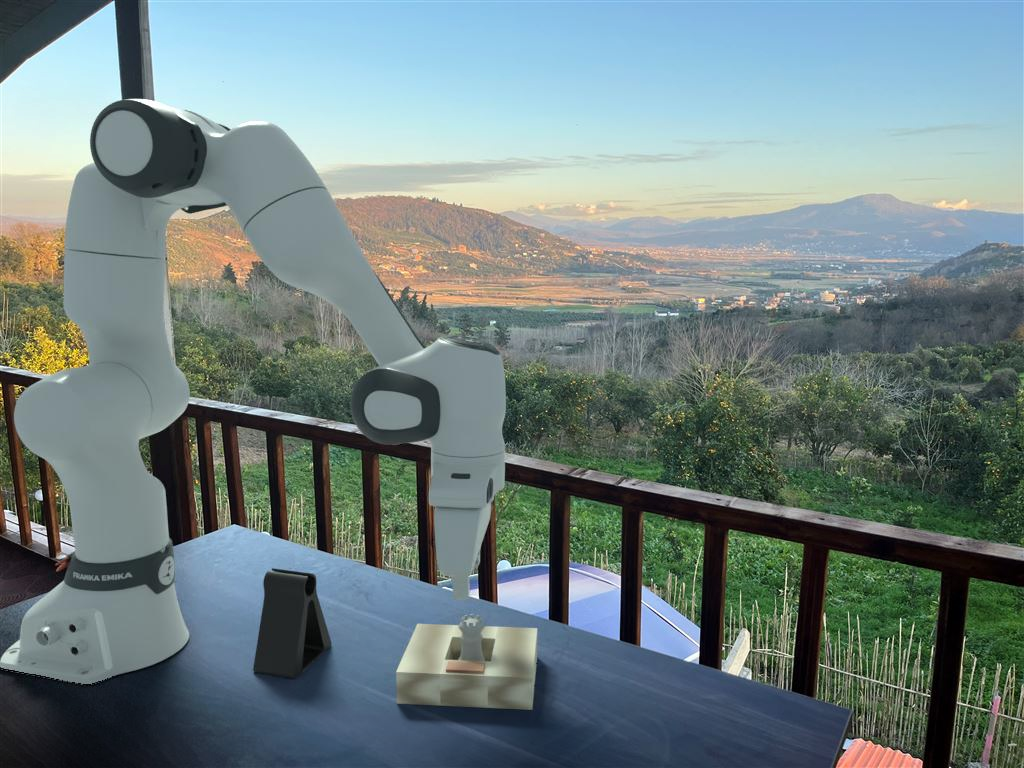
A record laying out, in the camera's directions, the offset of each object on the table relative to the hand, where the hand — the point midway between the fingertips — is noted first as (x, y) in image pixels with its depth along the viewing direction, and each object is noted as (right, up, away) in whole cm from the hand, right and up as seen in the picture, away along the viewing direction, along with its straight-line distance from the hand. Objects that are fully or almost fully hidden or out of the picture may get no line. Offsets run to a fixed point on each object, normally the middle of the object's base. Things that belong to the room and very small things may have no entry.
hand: (467, 581), depth 89 cm
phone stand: (-23, -12, +7) cm, 27 cm away
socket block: (0, -13, +2) cm, 13 cm away
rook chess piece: (0, -13, +2) cm, 13 cm away
